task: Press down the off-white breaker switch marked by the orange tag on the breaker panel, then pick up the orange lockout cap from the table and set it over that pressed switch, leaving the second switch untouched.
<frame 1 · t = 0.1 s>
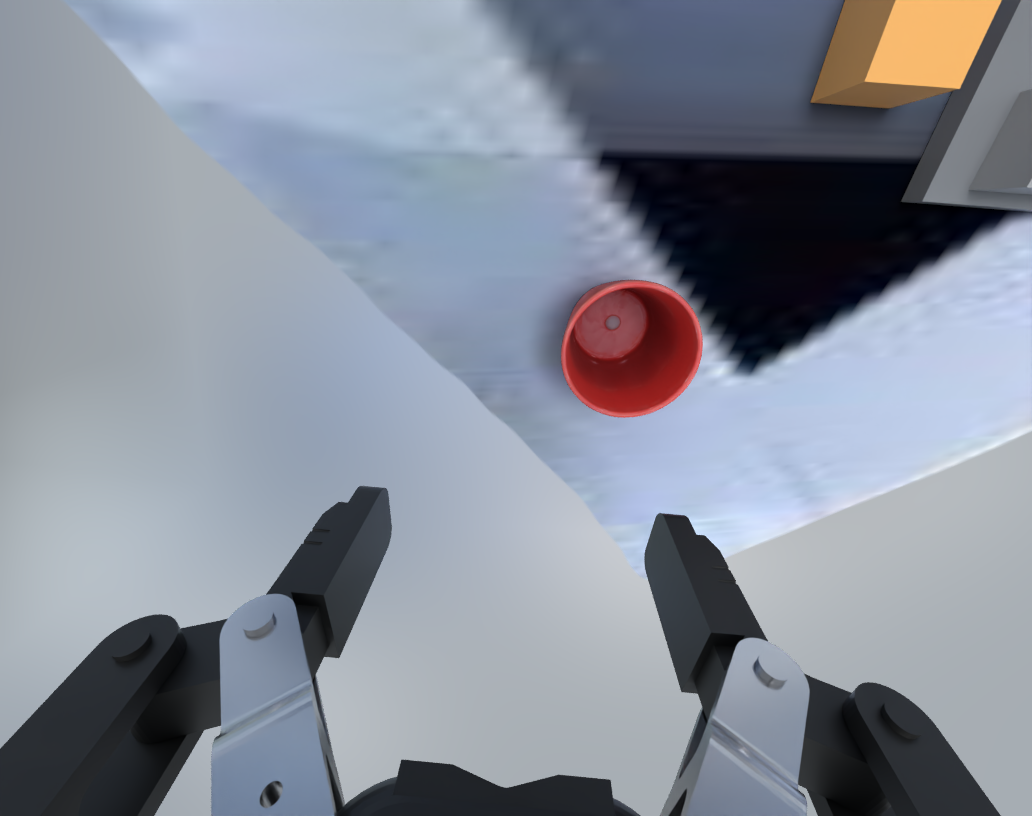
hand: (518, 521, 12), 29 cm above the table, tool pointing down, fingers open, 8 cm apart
lockout cap: (869, 54, 28), on the table
flower pot: (609, 321, 38), on the table
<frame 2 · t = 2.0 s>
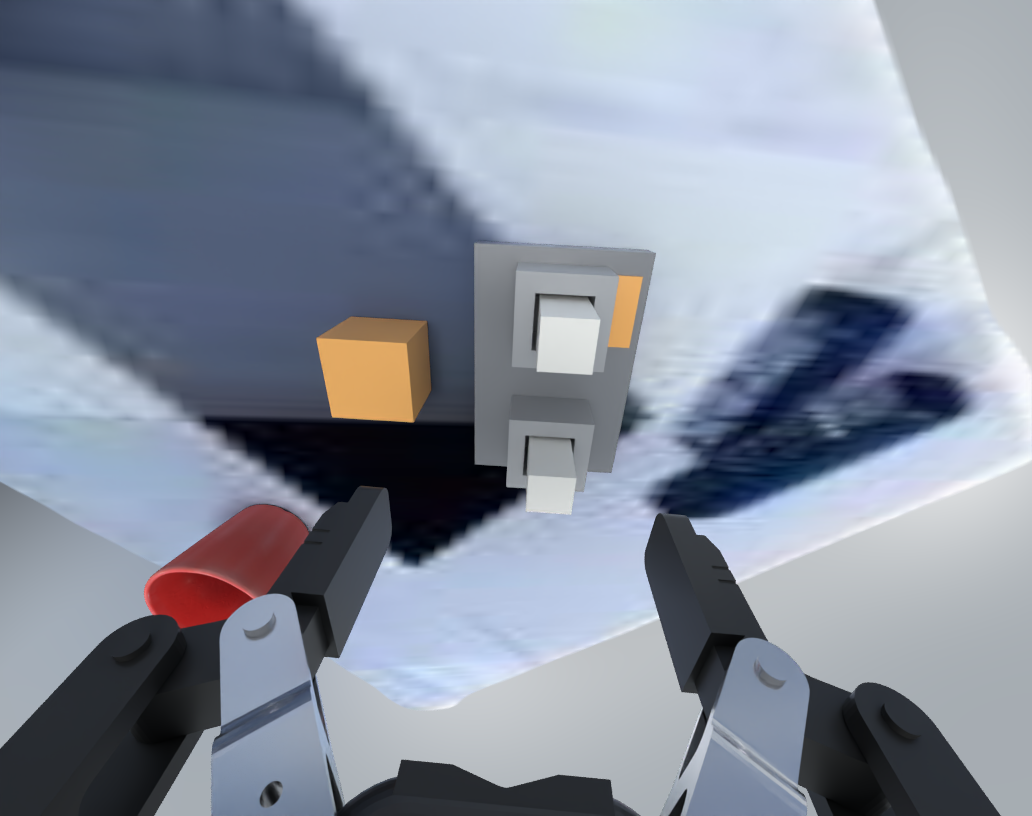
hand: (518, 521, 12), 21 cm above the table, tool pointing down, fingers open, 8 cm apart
lockout cap: (393, 354, 32), on the table
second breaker: (548, 469, 27), point 7 cm above the table, slide at 0.0 cm
breaker panel: (551, 364, 31), on the table
tagged breaker: (563, 331, 23), point 7 cm above the table, slide at 0.0 cm
flower pot: (276, 528, 42), on the table
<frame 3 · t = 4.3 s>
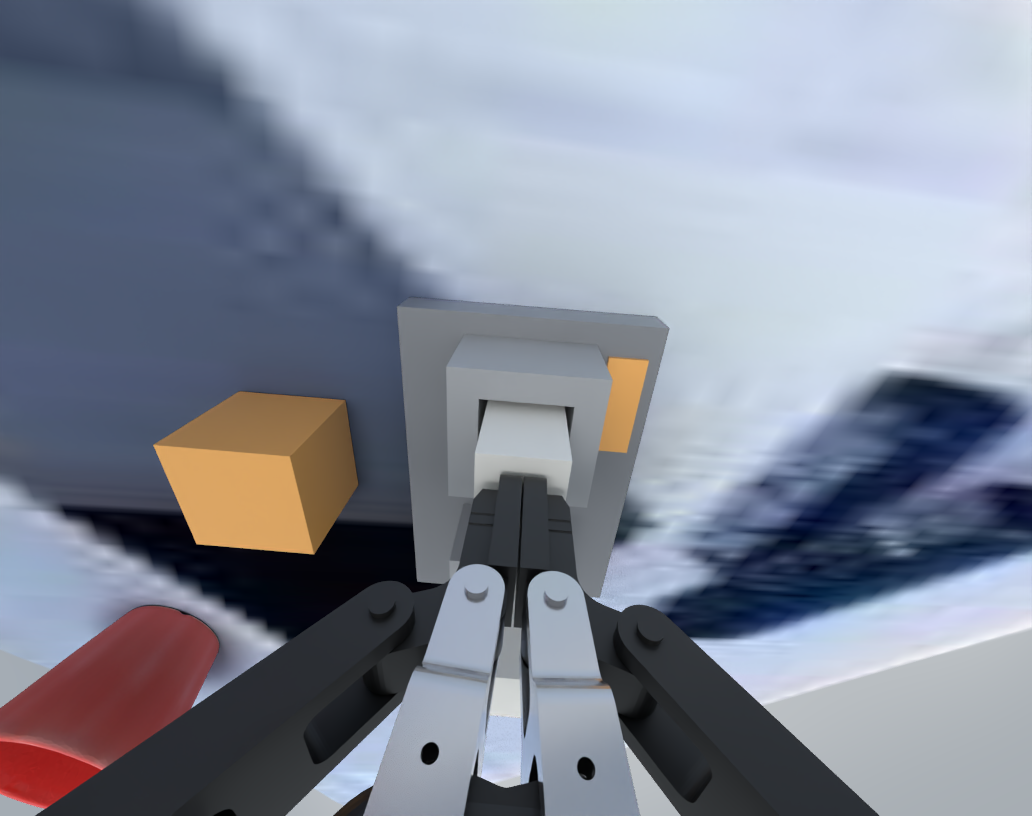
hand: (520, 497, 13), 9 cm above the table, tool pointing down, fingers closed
lockout cap: (302, 440, 23), on the table
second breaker: (505, 633, 19), point 7 cm above the table, slide at 0.0 cm
breaker panel: (519, 459, 23), on the table
tagged breaker: (522, 448, 15), point 6 cm above the table, slide at 1.1 cm, touching gripper
flower pot: (176, 630, 33), on the table
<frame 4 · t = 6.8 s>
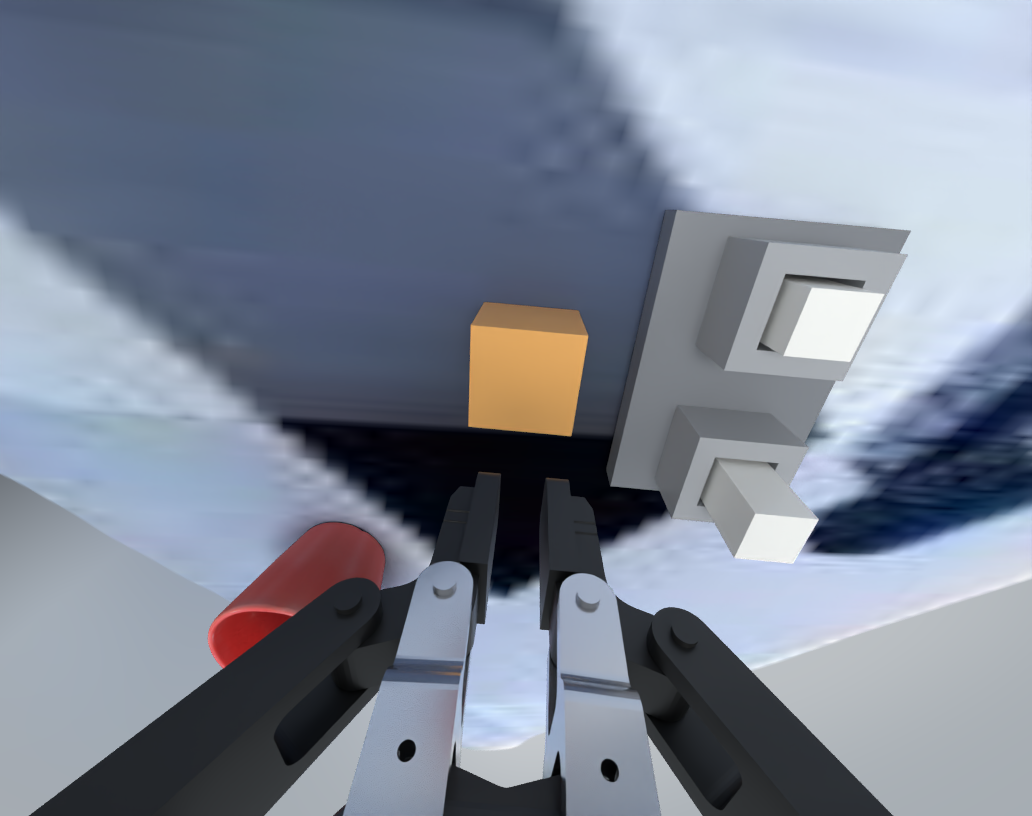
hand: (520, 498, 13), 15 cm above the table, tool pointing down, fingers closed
lockout cap: (526, 351, 26), on the table
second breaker: (747, 501, 21), point 7 cm above the table, slide at 0.0 cm
breaker panel: (720, 368, 26), on the table
tagged breaker: (794, 311, 19), point 5 cm above the table, slide at 2.6 cm
flower pot: (346, 550, 36), on the table
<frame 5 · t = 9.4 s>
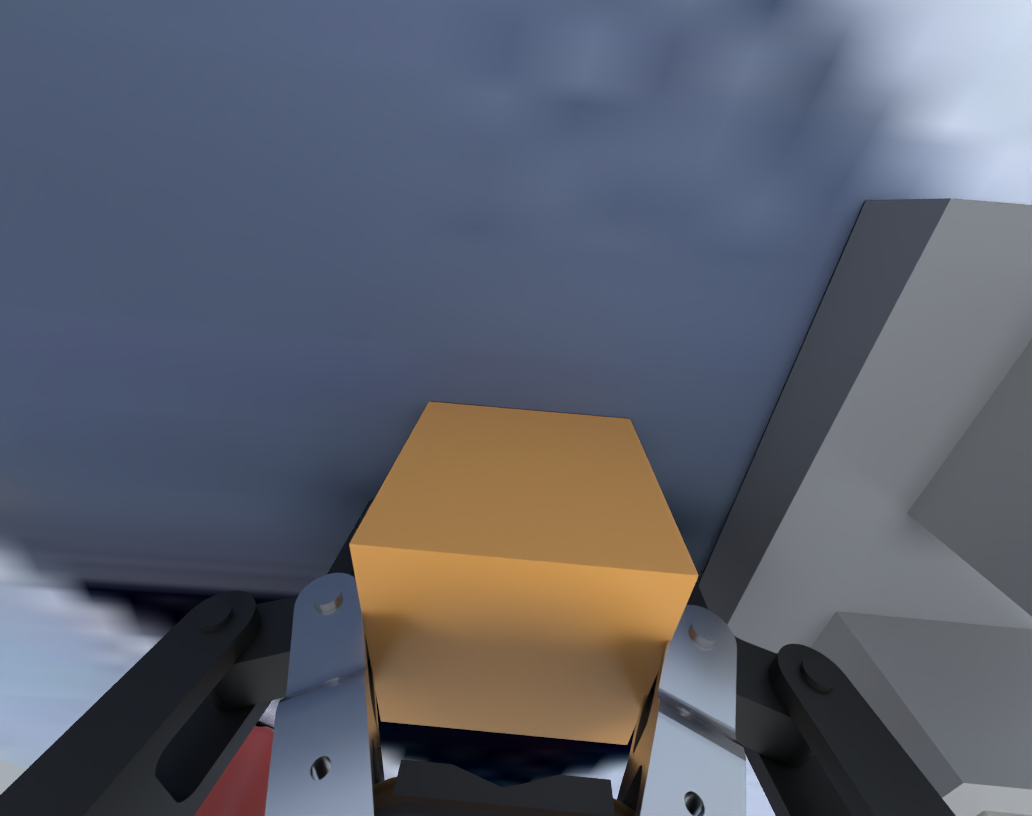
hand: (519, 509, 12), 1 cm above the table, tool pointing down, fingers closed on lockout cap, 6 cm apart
lockout cap: (521, 489, 13), on the table, touching gripper
breaker panel: (914, 524, 13), on the table
flower pot: (242, 741, 23), on the table
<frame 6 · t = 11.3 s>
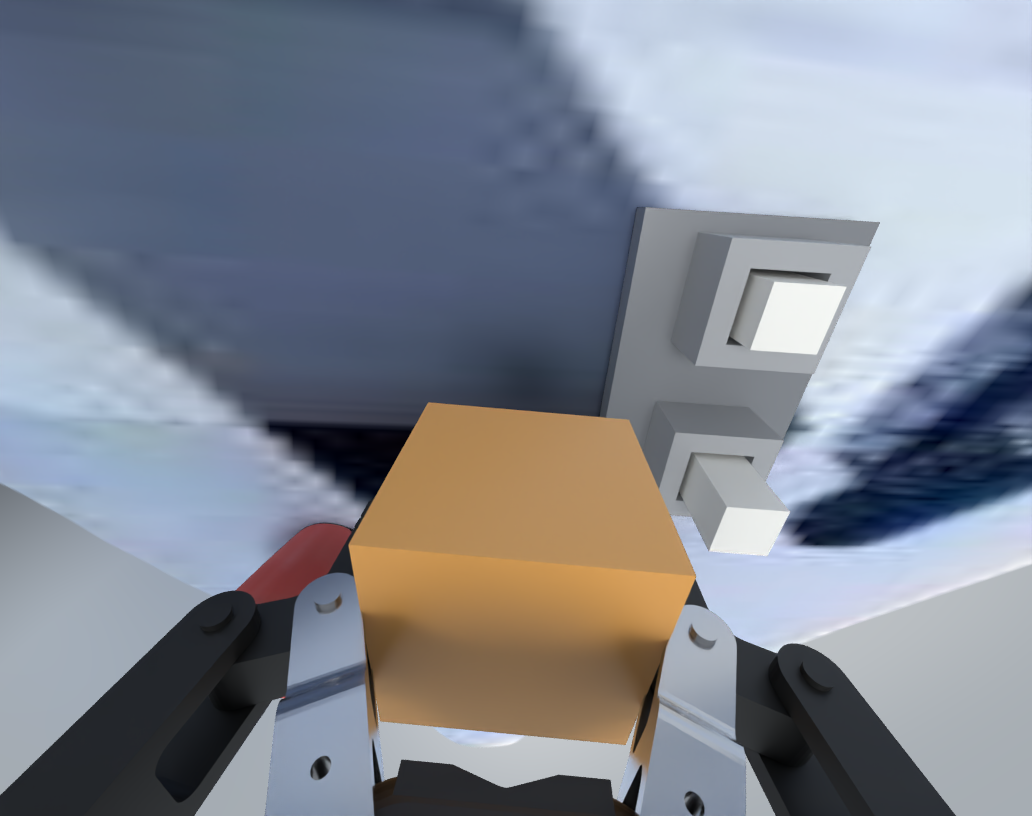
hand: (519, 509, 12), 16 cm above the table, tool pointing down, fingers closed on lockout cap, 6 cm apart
lockout cap: (520, 490, 13), point 15 cm above the table, touching gripper
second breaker: (724, 495, 22), point 7 cm above the table, slide at 0.0 cm
breaker panel: (699, 363, 26), on the table
tagged breaker: (763, 305, 19), point 5 cm above the table, slide at 2.6 cm
flower pot: (337, 550, 36), on the table
when the fingers open (8 cm above the table, at t = 13.6 s): lockout cap drops 1 cm, resting on breaker panel.
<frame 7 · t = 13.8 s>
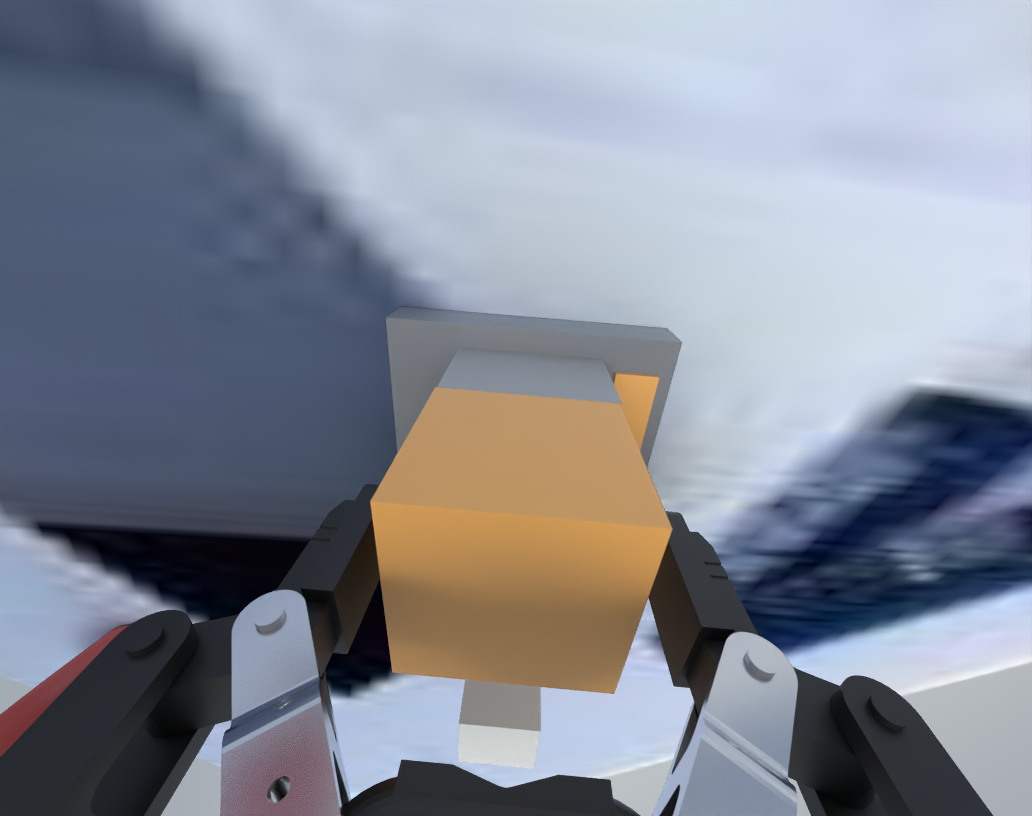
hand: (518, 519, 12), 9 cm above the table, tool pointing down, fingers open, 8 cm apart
lockout cap: (520, 470, 14), point 6 cm above the table, touching breaker panel
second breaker: (503, 670, 17), point 7 cm above the table, slide at 0.0 cm
breaker panel: (518, 477, 22), on the table
flower pot: (161, 650, 32), on the table
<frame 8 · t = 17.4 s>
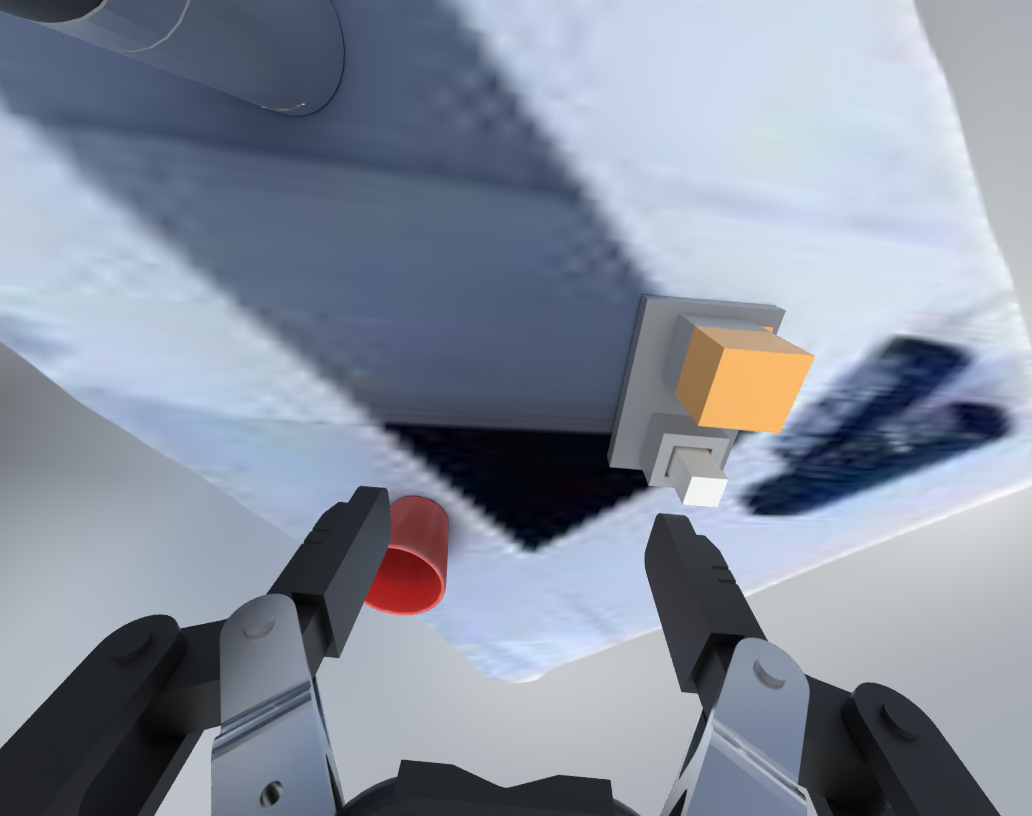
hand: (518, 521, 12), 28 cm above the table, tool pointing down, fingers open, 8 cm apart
lockout cap: (720, 364, 32), point 6 cm above the table, touching breaker panel
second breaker: (693, 472, 35), point 7 cm above the table, slide at 0.0 cm
breaker panel: (681, 388, 40), on the table
flower pot: (419, 517, 50), on the table
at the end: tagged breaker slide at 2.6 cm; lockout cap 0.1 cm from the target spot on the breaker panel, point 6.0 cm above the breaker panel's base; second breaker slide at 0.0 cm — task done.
